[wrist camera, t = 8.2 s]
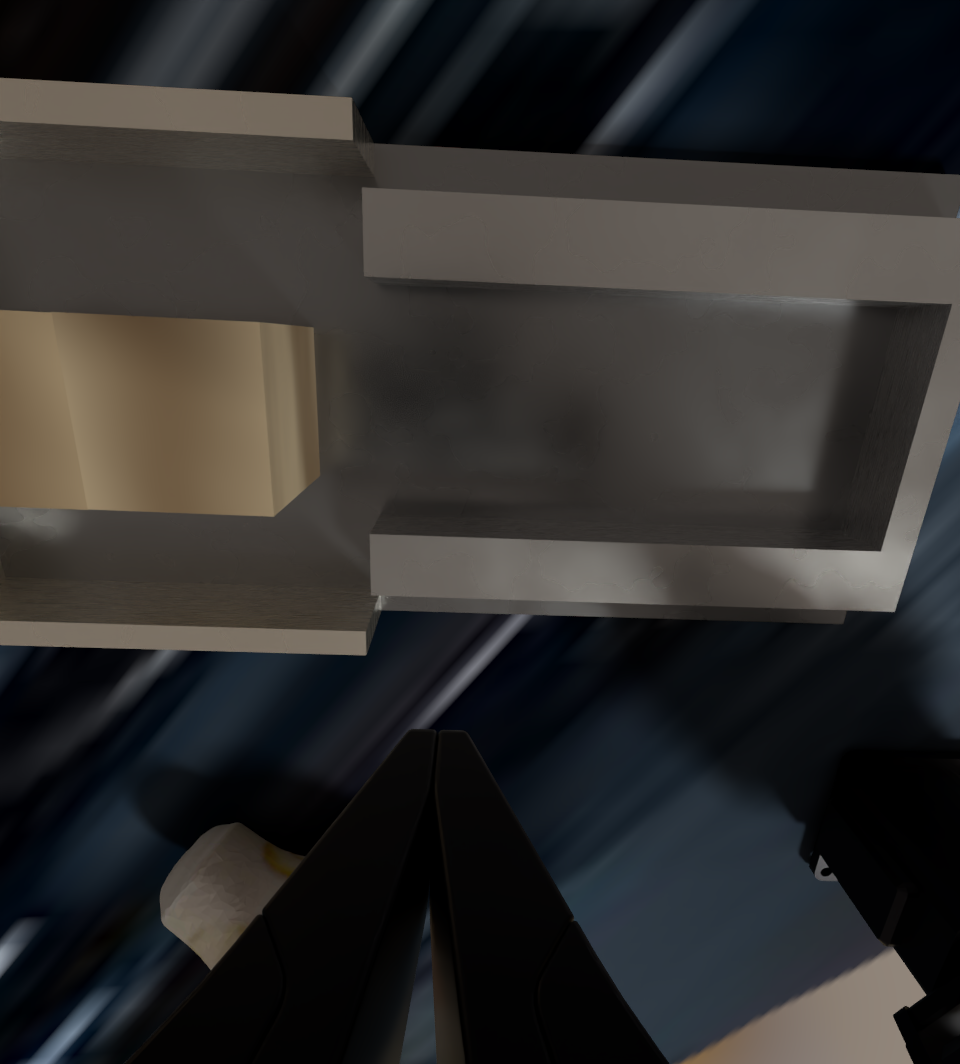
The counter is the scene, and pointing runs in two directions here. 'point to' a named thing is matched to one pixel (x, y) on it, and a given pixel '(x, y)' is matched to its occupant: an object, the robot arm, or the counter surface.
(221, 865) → the cream ceramic pitcher
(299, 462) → the chip
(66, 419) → the chip
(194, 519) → the rail board
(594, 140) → the counter surface
